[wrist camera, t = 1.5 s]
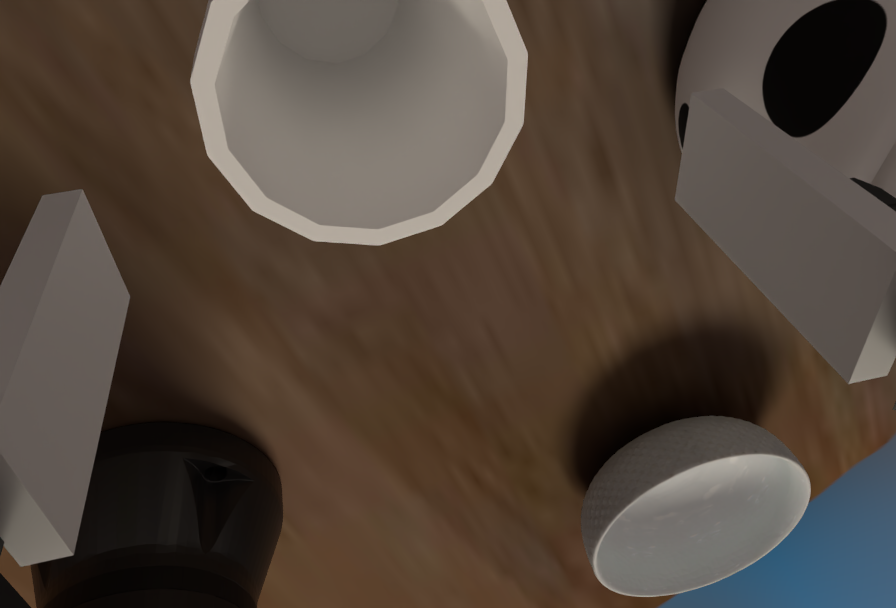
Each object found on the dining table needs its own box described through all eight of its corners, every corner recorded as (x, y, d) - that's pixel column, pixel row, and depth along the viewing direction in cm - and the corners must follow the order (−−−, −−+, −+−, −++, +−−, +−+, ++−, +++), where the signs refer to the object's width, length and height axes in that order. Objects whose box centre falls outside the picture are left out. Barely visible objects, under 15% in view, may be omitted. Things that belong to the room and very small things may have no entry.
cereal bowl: (595, 384, 49) (638, 462, 44) (792, 377, 54) (854, 447, 48) (537, 534, 59) (567, 613, 53) (708, 517, 64) (752, 588, 58)
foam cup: (330, -204, 26) (384, -179, 16) (477, -6, 31) (586, 105, 21) (161, -20, 28) (115, 102, 18) (325, 135, 34) (358, 294, 24)
